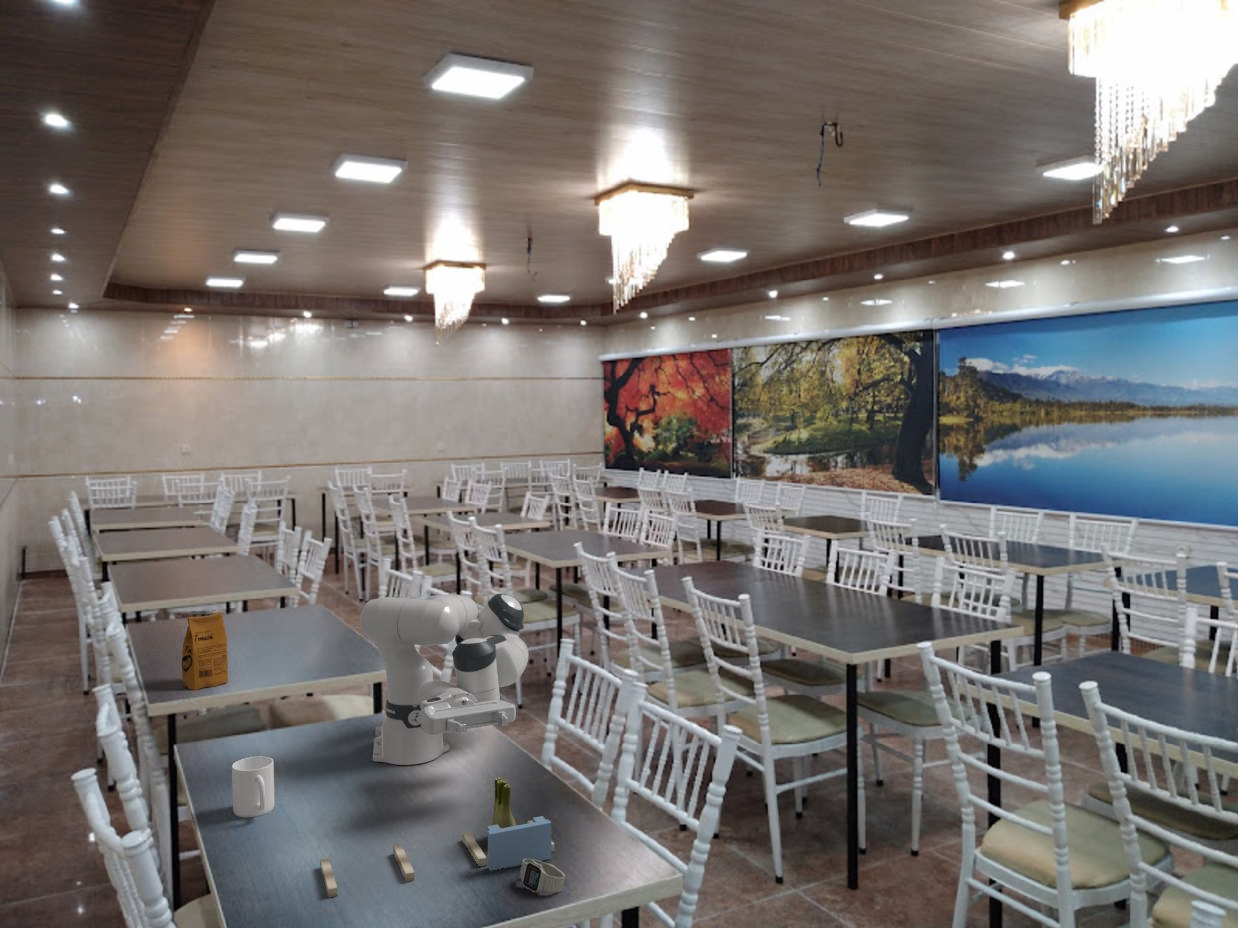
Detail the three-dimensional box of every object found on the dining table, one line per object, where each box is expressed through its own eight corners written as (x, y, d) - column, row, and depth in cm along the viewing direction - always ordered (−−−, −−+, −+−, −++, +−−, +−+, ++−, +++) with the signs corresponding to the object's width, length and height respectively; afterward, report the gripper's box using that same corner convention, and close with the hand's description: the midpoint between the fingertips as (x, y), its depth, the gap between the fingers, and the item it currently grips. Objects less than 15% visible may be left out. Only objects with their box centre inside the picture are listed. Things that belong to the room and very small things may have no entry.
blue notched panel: (485, 862, 179) (484, 826, 179) (545, 850, 184) (545, 815, 183) (490, 871, 176) (490, 834, 175) (551, 858, 181) (551, 822, 180)
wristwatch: (512, 883, 171) (511, 856, 171) (536, 870, 176) (536, 844, 176) (549, 900, 166) (548, 872, 165) (573, 886, 171) (573, 858, 170)
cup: (268, 798, 209) (267, 753, 209) (284, 817, 199) (283, 770, 199) (228, 807, 204) (227, 761, 204) (243, 827, 195) (241, 779, 194)
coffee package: (178, 685, 296) (176, 615, 295) (219, 677, 305) (217, 609, 303) (190, 692, 289) (188, 620, 288) (231, 683, 298) (229, 614, 296)
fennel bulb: (492, 833, 191) (491, 775, 191) (517, 832, 192) (516, 774, 191) (491, 846, 186) (490, 786, 185) (516, 845, 186) (515, 785, 185)
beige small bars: (320, 867, 177) (320, 859, 177) (534, 826, 194) (534, 819, 194) (328, 897, 166) (328, 889, 166) (554, 851, 184) (554, 843, 183)
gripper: (500, 717, 216) (528, 732, 205) (414, 731, 205) (439, 748, 193) (500, 690, 216) (528, 703, 205) (414, 702, 205) (439, 717, 193)
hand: (484, 725), depth 199 cm, fingers open, 8 cm apart
